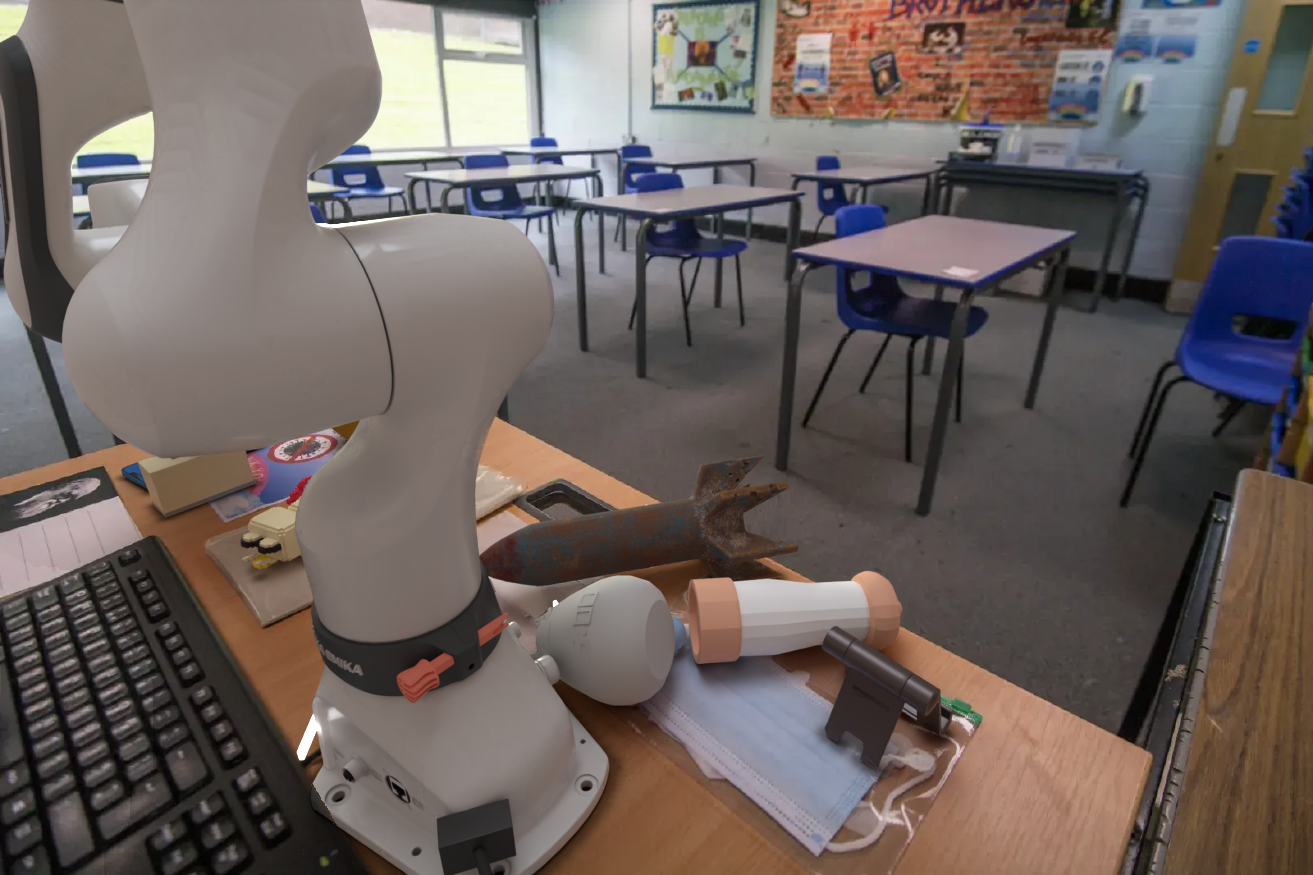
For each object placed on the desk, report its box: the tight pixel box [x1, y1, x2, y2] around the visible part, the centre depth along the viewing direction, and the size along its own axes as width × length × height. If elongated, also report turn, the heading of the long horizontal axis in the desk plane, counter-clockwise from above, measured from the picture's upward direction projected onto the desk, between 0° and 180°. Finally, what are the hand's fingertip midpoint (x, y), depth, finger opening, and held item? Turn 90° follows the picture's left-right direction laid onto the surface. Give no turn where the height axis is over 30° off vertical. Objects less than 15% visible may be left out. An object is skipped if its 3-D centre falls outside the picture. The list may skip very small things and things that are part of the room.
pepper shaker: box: [687, 570, 903, 665], centre depth 63 cm, size 7×7×19 cm
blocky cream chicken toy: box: [240, 475, 313, 570], centre depth 80 cm, size 10×9×25 cm
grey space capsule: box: [529, 575, 675, 707], centre depth 58 cm, size 10×10×12 cm
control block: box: [137, 450, 256, 518], centre depth 84 cm, size 4×10×6 cm, turn 140°
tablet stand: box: [821, 626, 955, 769], centre depth 54 cm, size 9×8×8 cm
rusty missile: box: [479, 455, 799, 587], centre depth 69 cm, size 12×12×30 cm
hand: (212, 438), depth 84 cm, fingers open, 3 cm apart
